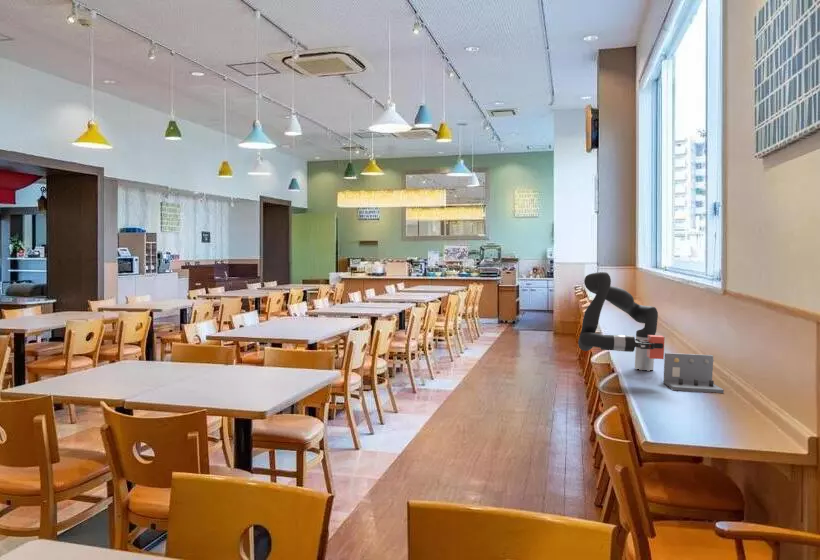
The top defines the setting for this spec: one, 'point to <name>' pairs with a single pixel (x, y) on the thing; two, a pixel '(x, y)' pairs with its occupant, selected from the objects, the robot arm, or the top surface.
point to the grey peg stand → (689, 372)
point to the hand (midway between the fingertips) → (661, 344)
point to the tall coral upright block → (656, 352)
